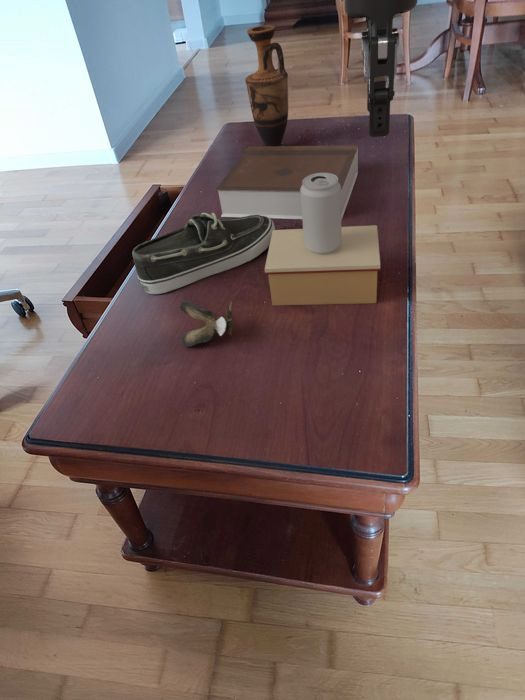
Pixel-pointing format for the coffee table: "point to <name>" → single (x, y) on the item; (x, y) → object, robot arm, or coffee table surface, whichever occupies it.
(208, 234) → the boat shoe
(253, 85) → the vase
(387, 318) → the coffee table surface
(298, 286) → the lidded cardboard box
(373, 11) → the robot arm
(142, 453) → the coffee table surface
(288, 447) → the coffee table surface
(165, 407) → the coffee table surface
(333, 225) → the beverage can
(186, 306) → the eagle figurine
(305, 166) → the book
